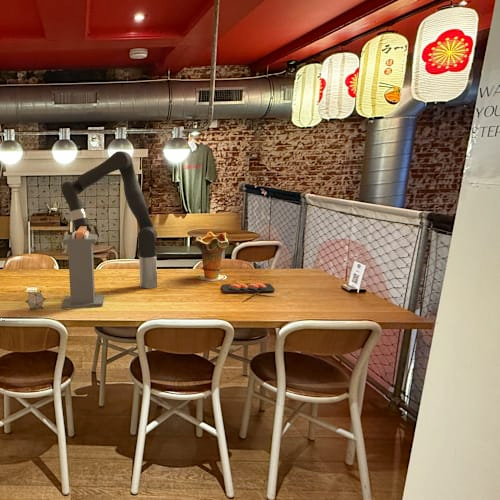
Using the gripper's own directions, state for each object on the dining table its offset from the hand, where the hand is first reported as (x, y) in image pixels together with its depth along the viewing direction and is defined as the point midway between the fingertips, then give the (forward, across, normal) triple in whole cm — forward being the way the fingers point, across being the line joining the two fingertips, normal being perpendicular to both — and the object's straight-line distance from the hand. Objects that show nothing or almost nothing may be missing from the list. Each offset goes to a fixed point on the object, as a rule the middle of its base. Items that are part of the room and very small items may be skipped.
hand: (88, 247), depth 222 cm
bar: (-6, 0, +21) cm, 22 cm away
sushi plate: (+47, -73, +26) cm, 91 cm away
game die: (+22, +28, +25) cm, 44 cm away
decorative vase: (+36, -64, -11) cm, 74 cm away
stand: (+26, +8, +20) cm, 34 cm away
